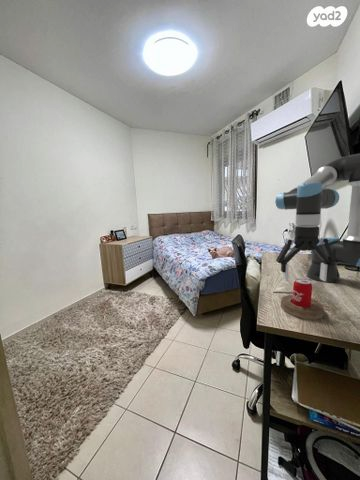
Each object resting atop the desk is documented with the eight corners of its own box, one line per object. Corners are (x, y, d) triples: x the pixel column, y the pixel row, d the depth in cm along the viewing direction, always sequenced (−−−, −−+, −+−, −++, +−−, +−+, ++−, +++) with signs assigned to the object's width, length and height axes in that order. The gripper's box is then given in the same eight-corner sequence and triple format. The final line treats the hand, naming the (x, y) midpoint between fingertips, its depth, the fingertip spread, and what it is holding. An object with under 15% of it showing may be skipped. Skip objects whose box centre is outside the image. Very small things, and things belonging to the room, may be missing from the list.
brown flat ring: (310, 301, 82) (310, 295, 82) (331, 320, 68) (332, 312, 68) (276, 300, 84) (276, 294, 83) (290, 318, 70) (290, 311, 70)
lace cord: (299, 292, 91) (299, 290, 91) (300, 293, 90) (300, 291, 90) (272, 291, 93) (272, 289, 93) (272, 292, 92) (273, 290, 92)
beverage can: (293, 304, 80) (295, 276, 79) (311, 308, 76) (313, 280, 75) (290, 310, 76) (292, 281, 74) (309, 315, 72) (311, 285, 70)
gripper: (337, 223, 73) (332, 276, 76) (268, 226, 76) (267, 276, 80) (351, 225, 66) (346, 283, 69) (275, 228, 69) (273, 283, 72)
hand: (303, 280), depth 74 cm, fingers open, 13 cm apart
